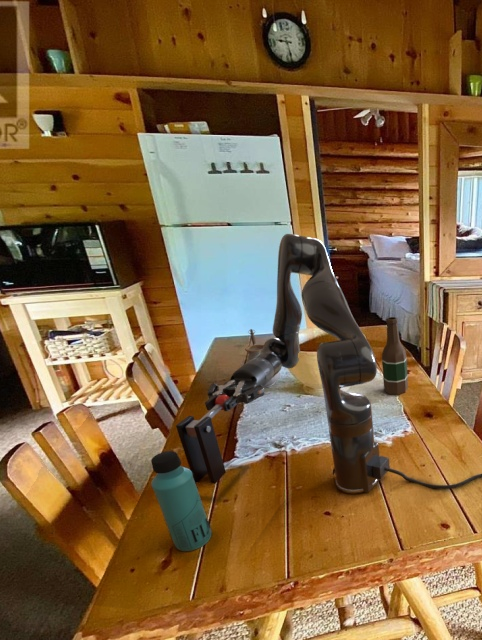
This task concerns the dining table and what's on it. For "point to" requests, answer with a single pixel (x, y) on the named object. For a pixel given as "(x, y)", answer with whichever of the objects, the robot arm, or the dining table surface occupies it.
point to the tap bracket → (202, 450)
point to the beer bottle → (394, 361)
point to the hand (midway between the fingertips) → (216, 407)
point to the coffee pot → (254, 352)
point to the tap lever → (211, 413)
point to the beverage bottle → (180, 502)
